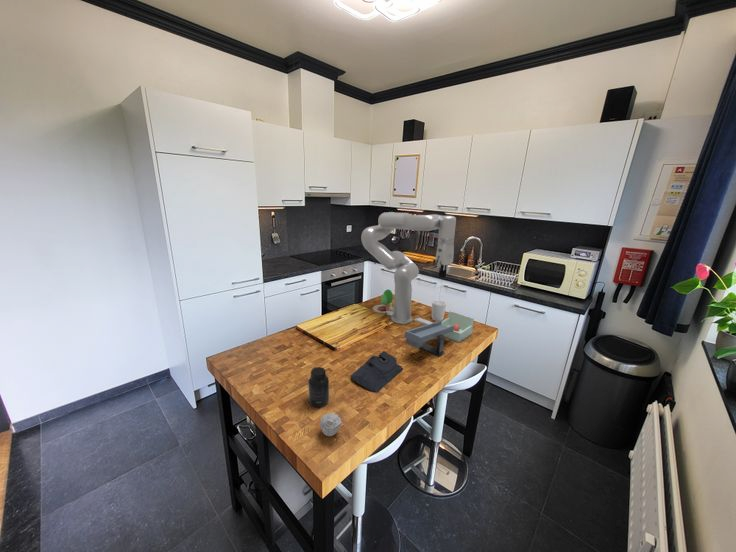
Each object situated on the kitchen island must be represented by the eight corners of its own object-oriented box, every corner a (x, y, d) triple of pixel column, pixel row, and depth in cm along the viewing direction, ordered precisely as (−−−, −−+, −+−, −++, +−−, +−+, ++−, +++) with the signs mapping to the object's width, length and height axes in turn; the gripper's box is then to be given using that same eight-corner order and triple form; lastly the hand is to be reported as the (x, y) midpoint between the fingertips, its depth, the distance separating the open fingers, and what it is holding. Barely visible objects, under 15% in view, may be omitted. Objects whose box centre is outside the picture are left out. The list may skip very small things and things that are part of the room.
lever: (389, 336, 129) (390, 324, 128) (425, 325, 150) (427, 315, 150) (418, 349, 118) (420, 337, 117) (452, 335, 140) (454, 325, 139)
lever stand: (414, 346, 136) (415, 328, 134) (420, 342, 140) (421, 325, 137) (438, 357, 127) (440, 338, 125) (444, 353, 131) (446, 335, 128)
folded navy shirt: (344, 380, 111) (344, 369, 110) (375, 355, 128) (376, 346, 127) (376, 396, 103) (377, 385, 101) (406, 368, 120) (406, 358, 118)
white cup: (443, 316, 171) (444, 300, 168) (445, 321, 163) (447, 305, 160) (429, 315, 171) (431, 299, 169) (431, 321, 164) (432, 304, 161)
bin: (435, 333, 149) (436, 317, 147) (448, 325, 159) (449, 310, 156) (459, 343, 140) (461, 326, 138) (471, 334, 150) (473, 318, 147)
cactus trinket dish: (386, 283, 186) (401, 289, 175) (385, 303, 189) (399, 310, 178) (367, 287, 177) (381, 294, 166) (367, 307, 181) (380, 315, 170)
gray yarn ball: (331, 447, 81) (330, 426, 79) (315, 433, 85) (314, 414, 84) (346, 434, 86) (346, 414, 84) (330, 422, 90) (330, 403, 88)
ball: (451, 331, 149) (453, 323, 148) (450, 329, 152) (452, 322, 152) (458, 333, 148) (460, 325, 147) (458, 331, 152) (460, 324, 151)
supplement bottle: (310, 394, 102) (309, 365, 98) (329, 394, 102) (329, 364, 99) (307, 408, 95) (306, 377, 92) (328, 407, 96) (328, 376, 92)
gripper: (444, 244, 133) (441, 281, 139) (460, 240, 144) (456, 276, 149) (431, 241, 138) (427, 278, 144) (446, 239, 149) (443, 273, 154)
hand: (442, 277), depth 146 cm, fingers closed
